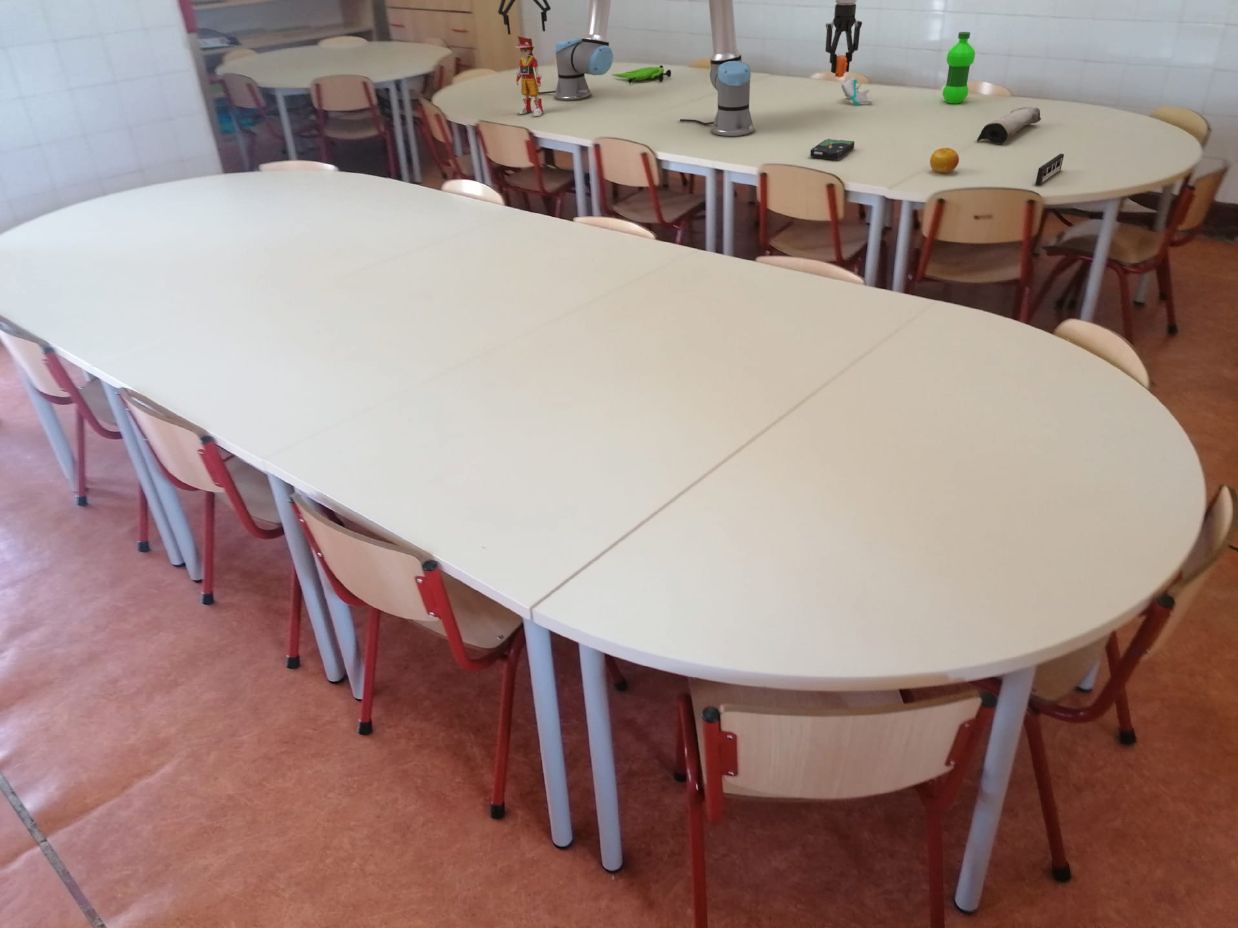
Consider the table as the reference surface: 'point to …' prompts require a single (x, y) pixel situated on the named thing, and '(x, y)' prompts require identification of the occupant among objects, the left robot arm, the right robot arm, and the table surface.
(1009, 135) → the rolled mat
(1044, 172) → the midi keyboard
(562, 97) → the left robot arm
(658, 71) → the toy
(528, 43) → the toy
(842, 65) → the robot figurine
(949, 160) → the fruit
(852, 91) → the anatomical model
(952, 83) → the plastic bottle
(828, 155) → the disk drive
